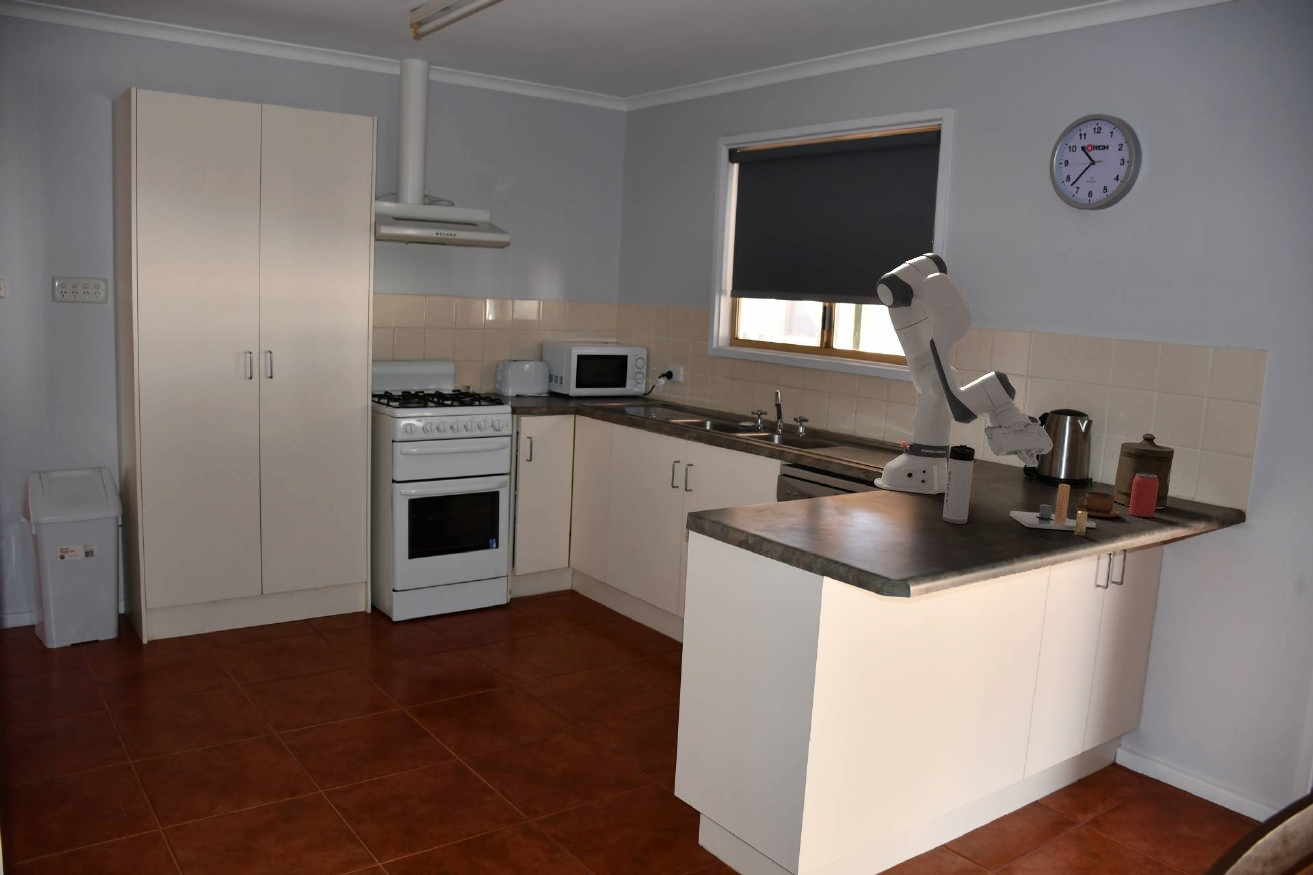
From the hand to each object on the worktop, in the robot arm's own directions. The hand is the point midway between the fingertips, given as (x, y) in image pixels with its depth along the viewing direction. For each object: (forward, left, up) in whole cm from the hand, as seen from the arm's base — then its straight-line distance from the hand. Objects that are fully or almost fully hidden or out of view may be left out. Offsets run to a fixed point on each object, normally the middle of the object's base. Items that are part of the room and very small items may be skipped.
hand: (1033, 465), depth 274 cm
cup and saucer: (+22, +6, -14) cm, 27 cm away
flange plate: (+4, -12, -13) cm, 18 cm away
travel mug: (-24, -17, -14) cm, 33 cm away
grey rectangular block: (+1, -12, -14) cm, 18 cm away
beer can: (+36, +10, -14) cm, 40 cm away
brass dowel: (+6, -22, -14) cm, 27 cm away
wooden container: (+43, +28, -14) cm, 53 cm away
